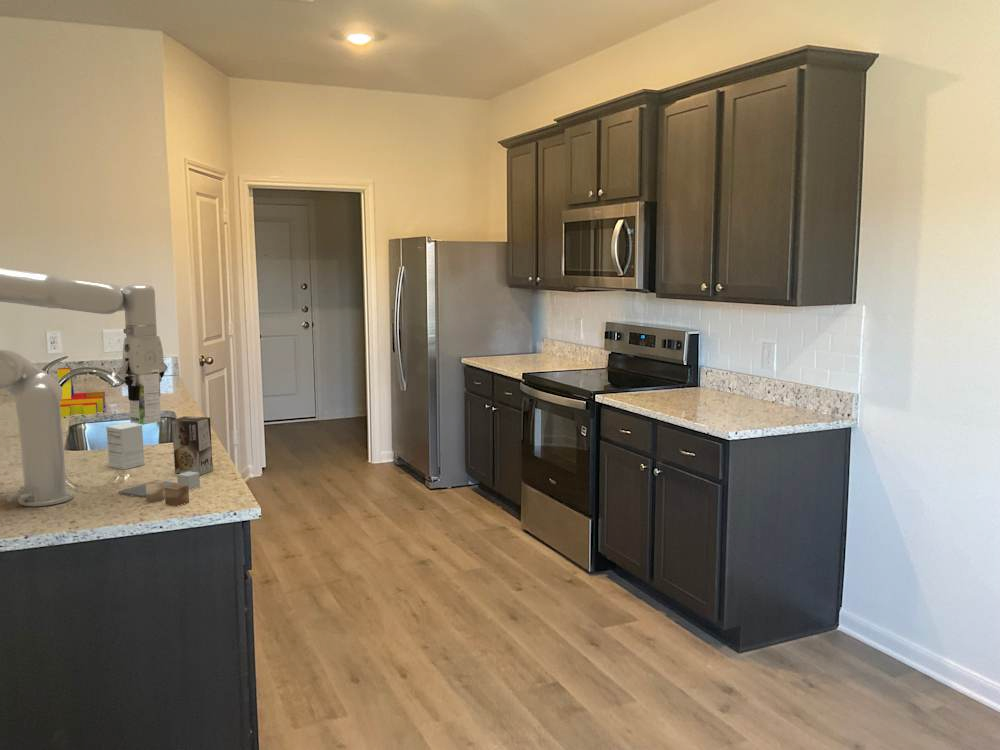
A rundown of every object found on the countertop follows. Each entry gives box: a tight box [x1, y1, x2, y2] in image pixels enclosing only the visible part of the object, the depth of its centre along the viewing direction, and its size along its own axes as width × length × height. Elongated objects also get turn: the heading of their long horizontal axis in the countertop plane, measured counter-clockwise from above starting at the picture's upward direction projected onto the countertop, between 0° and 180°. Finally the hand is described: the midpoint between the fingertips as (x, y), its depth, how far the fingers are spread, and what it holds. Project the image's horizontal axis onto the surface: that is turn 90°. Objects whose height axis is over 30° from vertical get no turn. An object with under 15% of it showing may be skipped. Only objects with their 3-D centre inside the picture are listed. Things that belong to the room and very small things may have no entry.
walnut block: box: [164, 484, 190, 507], centre depth 208 cm, size 4×4×4 cm
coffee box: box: [171, 416, 214, 476], centre depth 239 cm, size 9×6×16 cm
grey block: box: [176, 471, 201, 490], centre depth 223 cm, size 4×4×4 cm
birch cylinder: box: [145, 480, 165, 503], centre depth 212 cm, size 4×4×4 cm
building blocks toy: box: [57, 367, 106, 417], centre depth 337 cm, size 19×25×18 cm
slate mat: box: [118, 479, 178, 498], centre depth 221 cm, size 13×9×1 cm
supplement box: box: [105, 422, 145, 470], centre depth 247 cm, size 7×7×13 cm
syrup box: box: [129, 369, 162, 426], centre depth 218 cm, size 6×6×14 cm
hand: (144, 397), depth 218 cm, fingers closed on syrup box, 6 cm apart
